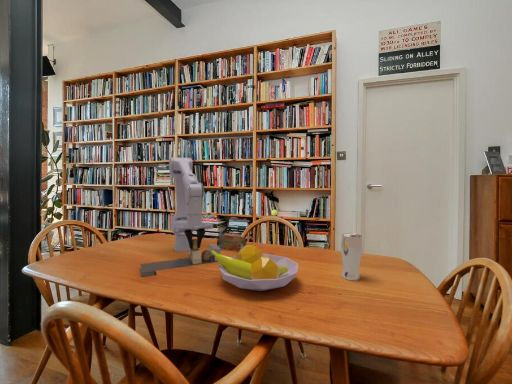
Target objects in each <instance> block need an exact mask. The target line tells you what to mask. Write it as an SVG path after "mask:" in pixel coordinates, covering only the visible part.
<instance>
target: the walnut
mask: <svg viewBox="0 0 512 384" xmlns="http://www.w3.org/2000/svg"><path fill="white" fill-rule="evenodd" d="M201 256H202V260H204V261H208V260H211V252H210V251H209V249H205V250H203V251H201Z"/></svg>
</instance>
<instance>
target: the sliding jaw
mask: <svg viewBox="0 0 512 384" xmlns="http://www.w3.org/2000/svg"><path fill="white" fill-rule="evenodd" d="M192 246H193V248H192V249H190V248H189V251H188V258H189V259H190V260H191V262H192V263H193V264H199V263H201V256H202V251H201V250H200V248H198V239H197V238H192Z"/></svg>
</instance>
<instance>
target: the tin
mask: <svg viewBox="0 0 512 384" xmlns="http://www.w3.org/2000/svg"><path fill="white" fill-rule="evenodd" d="M216 245H217V246H218V247H220V248H221V250H226V251H230V252H231V251H233V252H238V253H239V251H240V249H242V248H243V247H244V246H245V245H248V244H247V240H246V239H245V238H244V237H243V236H241V235H233V234H222V235H220V236H219V237H218V238H217V240H216Z"/></svg>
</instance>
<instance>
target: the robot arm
mask: <svg viewBox="0 0 512 384" xmlns="http://www.w3.org/2000/svg"><path fill="white" fill-rule="evenodd" d="M193 165H194V164H193V160H192V158H191V157H173V156H171V157H170V158H169V160H168V171H169V176H170V177H171V178H173V180H174V188H175V202H176V213H175V214H174V215H172V216H171V222H170V223H171V224H170V228H171V232H172V233H173V234H174V249H172V251H175V252H179V253H181V252H189V248H190V249H192V248H193V246H192V239H193V234H194V233H193V232H194V231H196V239H198V249H200V248H201V246H202V245H201V244H202V241H203V238H204V236H205V235H206V230H213V229H214V224H213V223H203V206H202V205H203V198H204V196H205V189H204V185H203V183H201V182H199V180H198V179H197V176H196V175H195V173H193V172H192V170H193Z"/></svg>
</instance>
